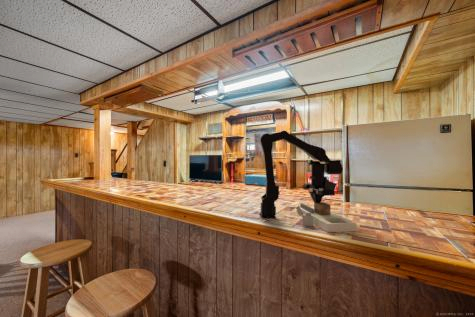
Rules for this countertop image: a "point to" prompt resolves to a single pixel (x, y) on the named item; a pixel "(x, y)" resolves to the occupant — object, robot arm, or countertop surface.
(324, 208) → the block
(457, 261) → the countertop surface
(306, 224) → the lighter
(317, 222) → the pale grey tray
